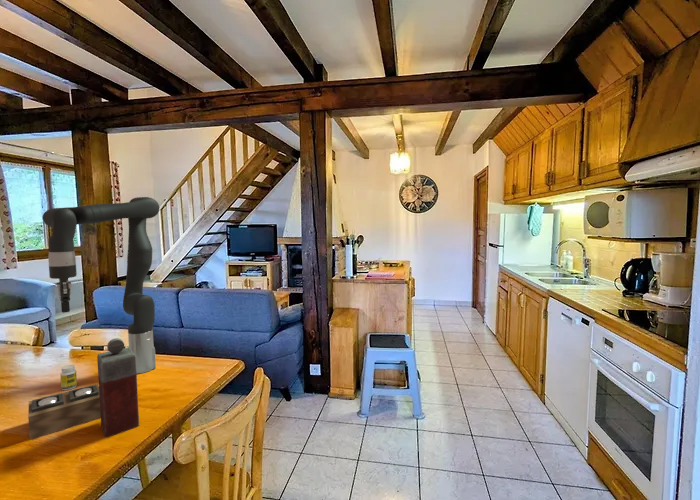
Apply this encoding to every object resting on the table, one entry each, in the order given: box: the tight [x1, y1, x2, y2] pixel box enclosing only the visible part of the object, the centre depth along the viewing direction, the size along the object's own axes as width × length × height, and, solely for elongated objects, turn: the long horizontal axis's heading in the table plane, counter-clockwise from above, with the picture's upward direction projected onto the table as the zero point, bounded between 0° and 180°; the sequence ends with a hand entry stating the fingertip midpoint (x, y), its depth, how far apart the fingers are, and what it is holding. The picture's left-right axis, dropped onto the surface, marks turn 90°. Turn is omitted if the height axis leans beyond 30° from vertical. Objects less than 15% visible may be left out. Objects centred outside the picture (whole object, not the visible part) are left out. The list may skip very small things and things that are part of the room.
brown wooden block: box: [27, 383, 101, 440], centre depth 113 cm, size 18×12×8 cm, turn 132°
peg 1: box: [38, 397, 57, 406], centre depth 110 cm, size 4×4×7 cm
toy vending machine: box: [96, 337, 140, 438], centre depth 110 cm, size 9×11×28 cm
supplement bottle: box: [60, 364, 78, 391], centre depth 135 cm, size 5×5×8 cm
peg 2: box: [75, 388, 92, 397], centre depth 116 cm, size 4×4×7 cm
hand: (65, 311), depth 125 cm, fingers closed
